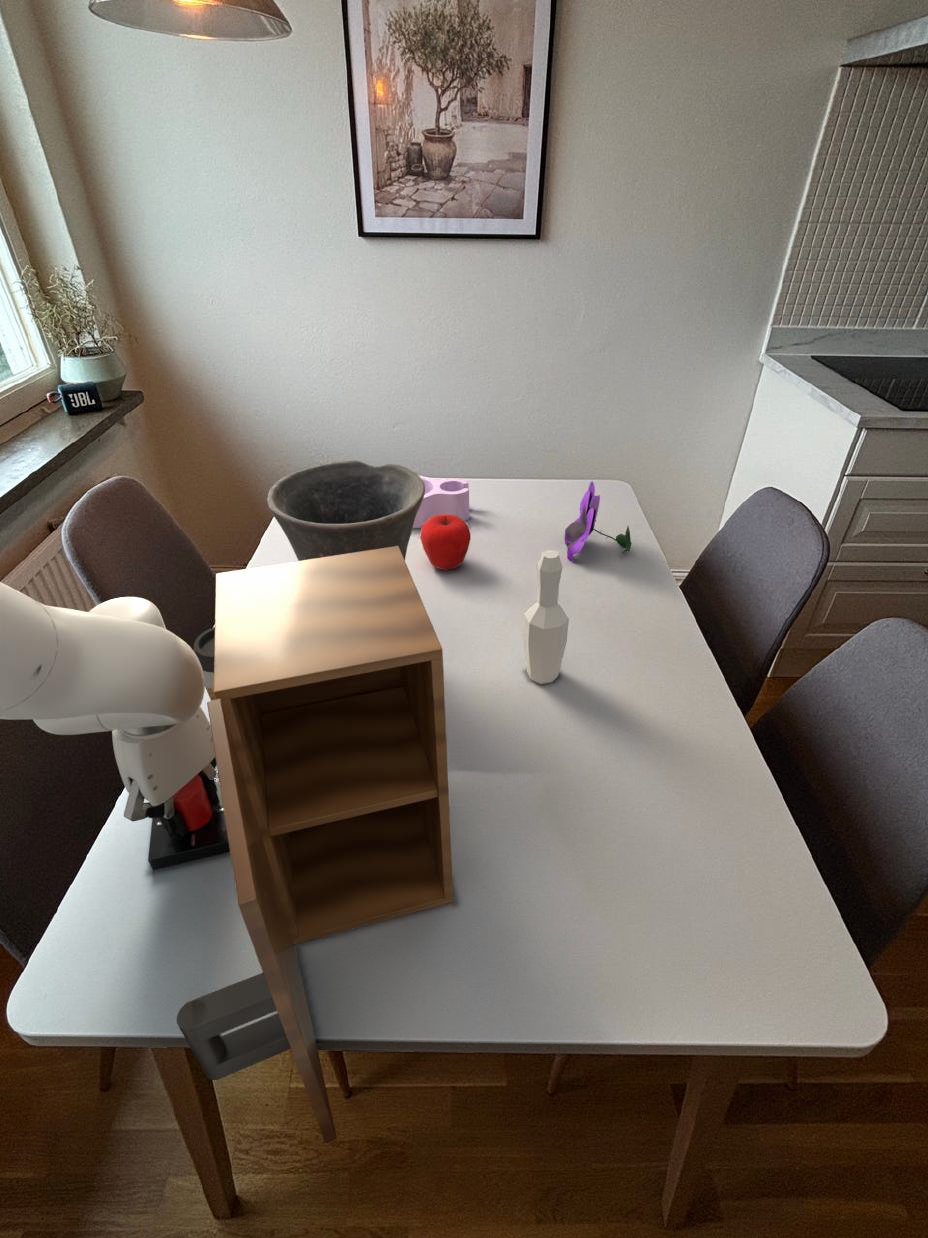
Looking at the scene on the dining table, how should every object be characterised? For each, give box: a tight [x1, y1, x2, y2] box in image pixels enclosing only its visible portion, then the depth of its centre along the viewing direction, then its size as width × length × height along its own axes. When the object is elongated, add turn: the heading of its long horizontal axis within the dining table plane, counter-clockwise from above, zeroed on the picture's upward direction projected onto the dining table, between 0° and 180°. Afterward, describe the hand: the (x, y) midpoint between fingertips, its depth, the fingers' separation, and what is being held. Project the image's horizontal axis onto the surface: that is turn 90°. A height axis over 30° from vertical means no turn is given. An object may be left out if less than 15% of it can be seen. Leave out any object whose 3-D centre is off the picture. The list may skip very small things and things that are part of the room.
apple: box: [419, 514, 472, 571], centre depth 133 cm, size 10×10×11 cm
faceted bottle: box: [522, 549, 570, 685], centre depth 102 cm, size 6×6×22 cm
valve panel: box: [147, 781, 230, 871], centre depth 85 cm, size 10×10×2 cm
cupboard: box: [214, 546, 454, 946], centre depth 71 cm, size 18×18×36 cm
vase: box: [266, 460, 425, 561], centre depth 104 cm, size 22×22×30 cm
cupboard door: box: [176, 699, 337, 1144], centre depth 54 cm, size 8×18×36 cm, turn 23°
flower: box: [564, 480, 633, 563], centre depth 137 cm, size 15×15×14 cm
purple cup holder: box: [412, 475, 470, 529], centre depth 152 cm, size 20×12×7 cm, turn 91°
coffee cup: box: [192, 626, 216, 701], centre depth 96 cm, size 8×8×15 cm
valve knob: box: [173, 775, 213, 831], centre depth 82 cm, size 4×4×6 cm
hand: (193, 813), depth 84 cm, fingers closed on valve knob, 4 cm apart
